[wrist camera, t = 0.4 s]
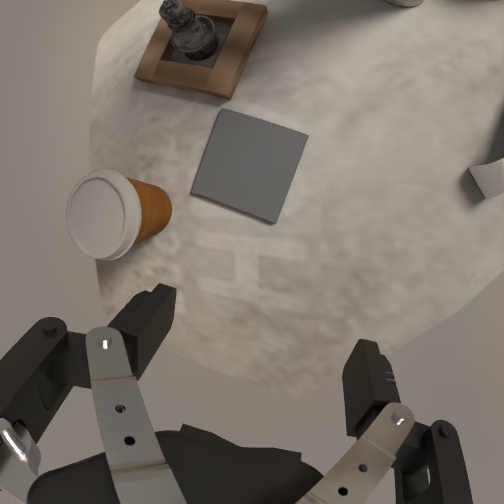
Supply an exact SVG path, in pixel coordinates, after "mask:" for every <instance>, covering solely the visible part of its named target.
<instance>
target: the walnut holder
mask: <svg viewBox="0 0 504 504" xmlns="http://www.w3.org/2000/svg"><path fill="white" fill-rule="evenodd" d="M181 1H182V2H183V4H184V5H185V6H186V7H187V8H189V9H192V10H193V11H194V12H195V15H196V16H205V17H208V18H209V19H211V20H212V21H213V22H219V23H226V24H233V26H232V28H231V30H230V32H229V34H228V36H227V38H226V40H225V43H224V45H223V47H222V49H221V51H220V54H219V56H218V58H217V60H216V63H215V65H214V67H213V69H212V68H207V67H202V66H196V65H191V64H185V63H178V62H172V61H168V59H169V57H170V55H171V53H172V51H173V48H174V46H173V45H172V42H171V37H172V33H173V32H172V31H170V30H169V29H168V27H167V22H166V21H165V20H164V19H163V18H161V20H160V22H159V24H158V26H157V28H156V30H155V32H154V34H153V36H152V38H151V40H150V42H149V44H148V46H147V48H146V51H145V53H144V55H143V57H142V59H141V62H140V64H139V66H138V68H137V71H136V73H135V75H134V77H135V78H137V79H138V80H140V81H144V82H150V83H156V84H162V85H167V86H173V87H178V88H183V89H187V90H192V91H197V92H201V93H206V94H210V95H214V96H218V97H222V98H226V99H230V100H231V98H232V95H233V93H234V90H235V88H236V86H237V83H238V81H239V78H240V76H241V73H242V71H243V69H244V66H245V64H246V62H247V59H248V57H249V55H250V52H251V50H252V48H253V45H254V43H255V41H256V39H257V36H258V34H259V32H260V30H261V28H262V25H263V23H264V21H265V19H266V17H267V15H268V11H267V8H266V6H264V5H259V4H252V3H246V2H239V1H231V0H181Z"/></svg>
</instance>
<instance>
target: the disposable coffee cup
mask: <svg viewBox="0 0 504 504" xmlns="http://www.w3.org/2000/svg"><path fill="white" fill-rule="evenodd" d="M171 213H172V205H171V201H170V199H169V197H168V195H167V194H166V192H165V191H164V190H162V189H161V188H159V187H157V186H154V185H150V184H147V183H144V182H140V181H137V180H134V179H130V178H127V177H124V176H123V175H122V174H120V173H118V172H116V171H113V170H110V169H100V170H96V171H94V172H92V173H90V174H89V175H87V176H85V177H84V178H82V179H81V180H80V181H79V182H78V183H77V184H76V185H75V187H74V188H73V190H72V192H71V194H70V197H69V200H68V203H67V210H66V217H67V226H68V230H69V233H70V236H71V238H72V240H73V242H74V244H75V245H76V246H77V248H78V249H79V250H80V251H81V252H83V253H84V254H85V255H87V256H89V257H92V258H95V259H98V260H102V261H111V260H115V259H117V258H119V257H121V256H123V255H124V254H125V253H126V252H127V251H128V250H129V249H130V248H131V247H132V246H134V245H135V244H137V243H139V242H141V241H142V240H144V239H146V238H148V237H150V236H151V235H153V234H155V233H157V232H159V231H161V230H162V229H163V228H165V227H166V225H167V224H168V222H169V220H170V218H171Z"/></svg>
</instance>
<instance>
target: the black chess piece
mask: <svg viewBox="0 0 504 504" xmlns="http://www.w3.org/2000/svg"><path fill="white" fill-rule="evenodd" d="M159 14H160V16H161V17H162V18H163V19H164V20H165V21H166V22H167V27H168V29H169V30H170V31H172V32H173V33H172V37H171V42H172V45H173V46H174V48H175V49H177V50H178V51H181V52H184V53H185V55H186V56H187V57H188V58H189V59H192V60H196V61H200V60H205V59H207V58H209V57H211V56H213V55H214V54H215V53H216V52H217V50H218V49H219V47H220V44H221V39H220V36H219V34H218V33H217V32H216V31H215V25H214V23H213V21H212V20H211V19H209V18H208V17H205V16H196V15H195V12H194V11H193V10H192V9H189V8H187V7H186V6H185V5H184V4H183V2H182V1H181V0H164V1H163V4H162V5H161V7H160V9H159Z"/></svg>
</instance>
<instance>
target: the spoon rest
mask: <svg viewBox="0 0 504 504" xmlns="http://www.w3.org/2000/svg"><path fill="white" fill-rule="evenodd" d="M469 170H470V172H471V174H472V176H473V178H474V179H475V181H476V183H477V185H478V186H479V188H480V190H481V192H482V193H483V195H484V196H485V197H486V198H487V199H489V198H492V197H495V196H497V195H499V194H500V193H502V192H503V191H504V158H502V159H500V160H498V161H496V162H493V163H490V164H486V165H479V166H471V167H470V168H469Z"/></svg>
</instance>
